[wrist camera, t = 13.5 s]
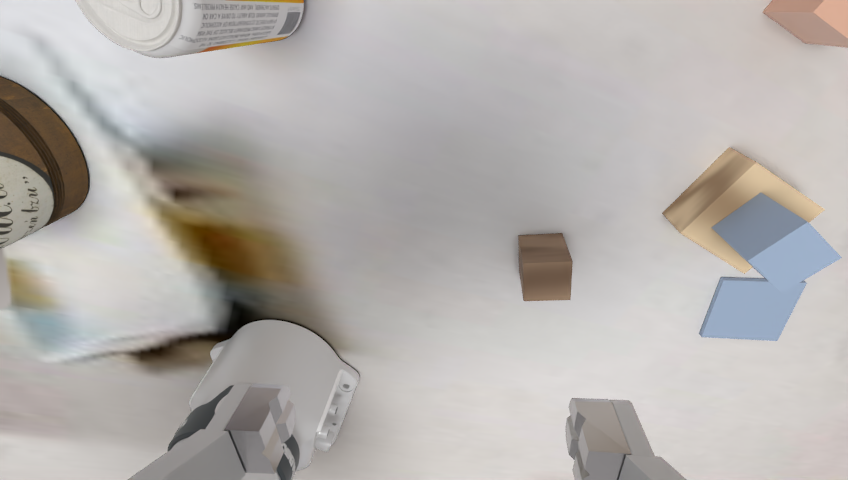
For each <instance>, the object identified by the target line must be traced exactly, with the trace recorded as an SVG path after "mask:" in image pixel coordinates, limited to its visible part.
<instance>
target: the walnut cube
mask: <svg viewBox="0 0 848 480" xmlns="http://www.w3.org/2000/svg"><path fill="white" fill-rule="evenodd" d="M518 240H519V273H520V280H521V286H522V293H523V300H524V301H544V300H570V296H571V277H572V259H571V256H570V253H569V251H568V248H567V245H566V243H565V240H564V237H563V234H562V233H555V234H537V235H518Z"/></svg>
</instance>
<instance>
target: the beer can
mask: <svg viewBox="0 0 848 480" xmlns="http://www.w3.org/2000/svg"><path fill="white" fill-rule="evenodd" d="M75 1H76V2H77V4H78V6H79V8H80V9H81V11H82V12H83V14H84V15H85V17H86V18H87V19H88V20H89V22H90V23H91V24H92V25H93V26H94V27H95V28H96V29H97V30H98V31H99V32H100V33H101V34H102V35H104V36H105V37H106V38H108V39H109V40H111V41H112V42H114V43H116V44H117V45H119V46H122V47H124V48H127V49H130V50H133V51H135V52H137V53H140V54H142V55H145V56H149V57H154V58H168V57H174V56H181V55H187V54H194V53H200V52H207V51H213V50H220V49H227V48H233V47H240V46H246V45H253V44H259V43H266V42H272V41H278V40H282V39H284V38H286V37H288V36H290V35H291V34H292V33H293V32H294V31H295V30H296V28H297V27H298V25H299V23H300V21H301V18H302V15H303V9H304V0H75Z"/></svg>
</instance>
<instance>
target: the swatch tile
mask: <svg viewBox="0 0 848 480" xmlns="http://www.w3.org/2000/svg"><path fill="white" fill-rule="evenodd" d="M806 284H807V283H806V282H805V281H804V280H803V281H801V282H800V283H798V284H796V285H795V286H793V287H791V288H789V289H788V290H786V291H784V292H783V293H781V292H779V291H778V290H777V289H776V288H775V287H774V286H773V285H772V284H771V283H770V282H769V281H768V280H766V279H759V278H730V277H721V278H720V281H719V284H718V286H717V289H716V291H715V294H714V297H713V299H712V302H711V304H710V307H709V310H708V312H707V315H706V318H705V320H704V323H703V325H702V328H701V331H700V333H699V334H700V335H701V337H711V338H731V339H750V340H770V341H777V340H778V338H779V336H780V335H781V333H782V331H783V329H784V327H785V325H786V323H787V321H788V319H789V317H790V315H791V313H792V311H793V309H794V307H795V305H796V303H797V301H798V299H799V297H800V295H801V293H802V291H803V289H804V288H805V286H806Z"/></svg>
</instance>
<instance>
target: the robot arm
mask: <svg viewBox="0 0 848 480" xmlns="http://www.w3.org/2000/svg"><path fill="white" fill-rule="evenodd" d="M210 356H211V358H212V361H213V363H212V365H211V366H210V368H209V369H208V371H207V373H206V374H205V376H204V377H203V379H202V380H201V382H200V384H199V385H198V387H197V388H196V390H195V392H194V393H193V395H192V397H191V398H190V401H189V405H190V409H191V413H190V415H189V416H188V417H187V419H186V420H185V422H183V423H182V424H181V426H180V427H179V428H178V430H177V432H176V433H175V435H174V438H173V440H172V441H171V443H170V444H169V447H168V451H167V453H165V454H164V455H162V456H161V457H160V458H158V459H157V460H155V461H154V462H152V463H151V464H149V465H148V466H147V467H145V468H144V469H142V470H141V471H139V472H138V473H136V474H135V475H134V476H132V477H131V478H129V479H128V480H292V479H293V476H294V474H295V471H299V470H302V469H305V468H306V467H308V466H309V465H310V462H311V460H312V457H313V455H314V452H315V450H316V449H317V448H318V450H319V449H320V450H321V451H325V452H328V451H329V448H330V445H332V444H334V442H335V440H336V438H337V436H338V434H339V431H340V428H341V426H342V423H343V421H344V418H345V415H346V413H347V410H348V408H349V405H350V402H351V400H352V397H353V395H354V392H355V389H356V387H357V384H358V381H359V378H360V376H359V374H358V373H357V372H356V371H355V370H354V369H353V368H351V367H350V366H349V365H347V364H346V363H344V362H342V361H341V360H340V358H339V357H338V356H337V355H336V353H335V352H334V351H333V349H332V348H331V347H330V346H329V345H328V344H327V343H326V342H325V341H324V340H323V339H321V338H320V337H319V336H317V335H316V334H314V333H313V332H311V331H309V330H307V329H305V328H303V327H301V326H298V325H296V324H293V323H289V322H285V321H279V320H260V321H255V322H252V323H249V324H247V325H245V326H243V327H242V328H240V329H239V330H238V331H237V332H236V333H235V334H234V335H233V337H231V338H230V339H229V340H226V341H223V342H220V343H217V344H216V345H215V346H214V347H213V349H212V350H211V352H210ZM569 410H570V414H571V415H570V416H569V417H568V418H567V421H566V442H567V448H568V452H569V455H570V456H571V457H572V458H573V459H574V460H575V461H574V466H573V474H574V478H575V480H686V479H685V478H684V477H683V476H682V475H681V474H680V473H679V472H677V471H676V470H675V469H674V468H673V467H672V466H671V465H670V464H668V463H667V462H666V461H665V460H664V459H663V458H662V457H658V456H654V453H653V451H652V449H651V446H650V444H649V442H648V439H647V437H646V435H645V432H644V430H643V428H642V425H641V423H640V421H639V418H638V416H637V414H636V411H635V409H634V407H633V404H632V403H631V402H630V401H629V400H608V399H585V398H572V399H571V400H570V404H569Z"/></svg>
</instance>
